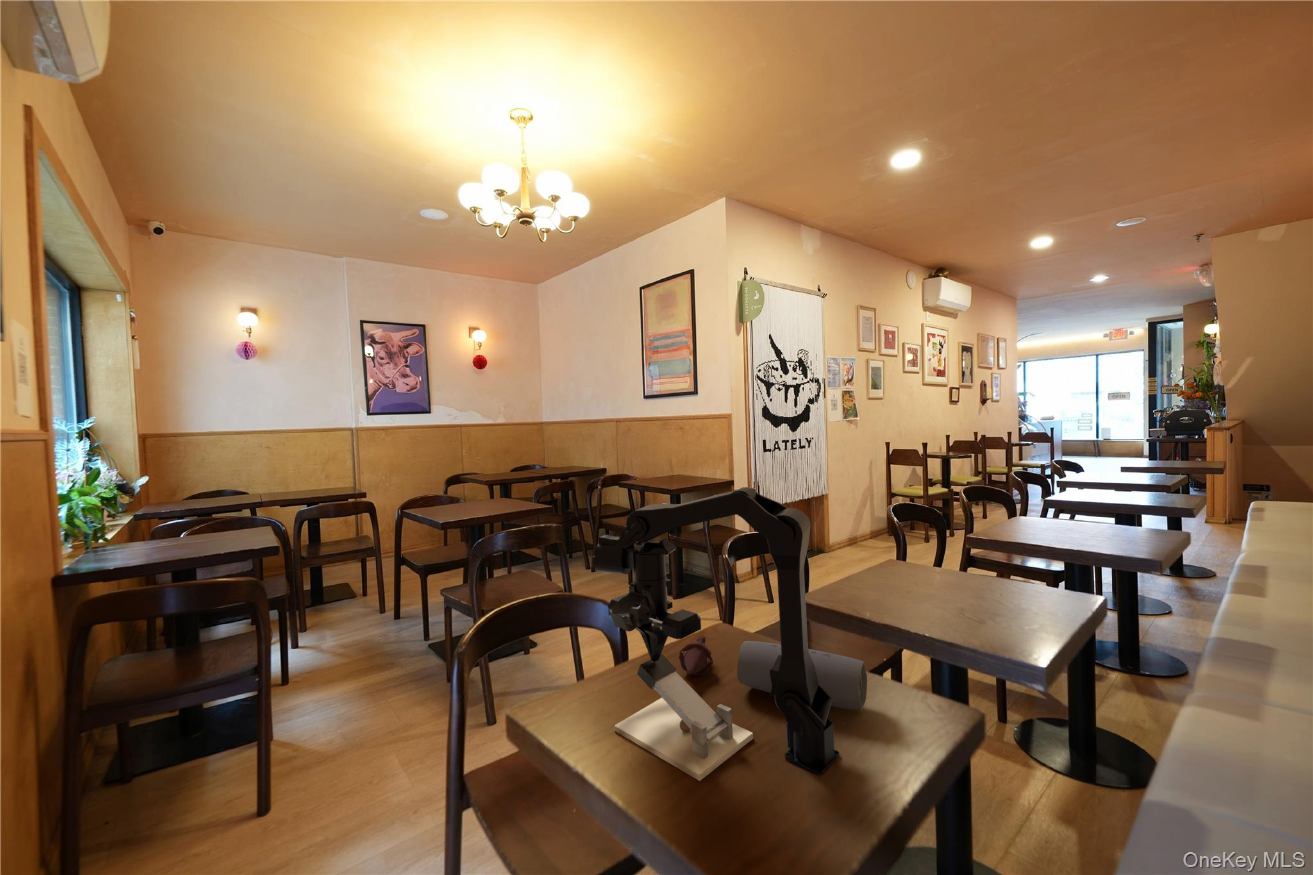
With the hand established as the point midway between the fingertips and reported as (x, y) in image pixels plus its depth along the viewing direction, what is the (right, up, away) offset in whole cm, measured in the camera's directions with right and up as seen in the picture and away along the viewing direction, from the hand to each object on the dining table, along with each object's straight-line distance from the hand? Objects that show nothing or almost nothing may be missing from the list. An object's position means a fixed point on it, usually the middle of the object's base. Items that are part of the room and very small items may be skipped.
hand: (655, 660), depth 99 cm
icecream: (+9, -10, +18) cm, 23 cm away
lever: (+4, -6, -4) cm, 8 cm away
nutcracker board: (+5, -12, -4) cm, 13 cm away
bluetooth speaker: (+28, -10, +5) cm, 30 cm away
